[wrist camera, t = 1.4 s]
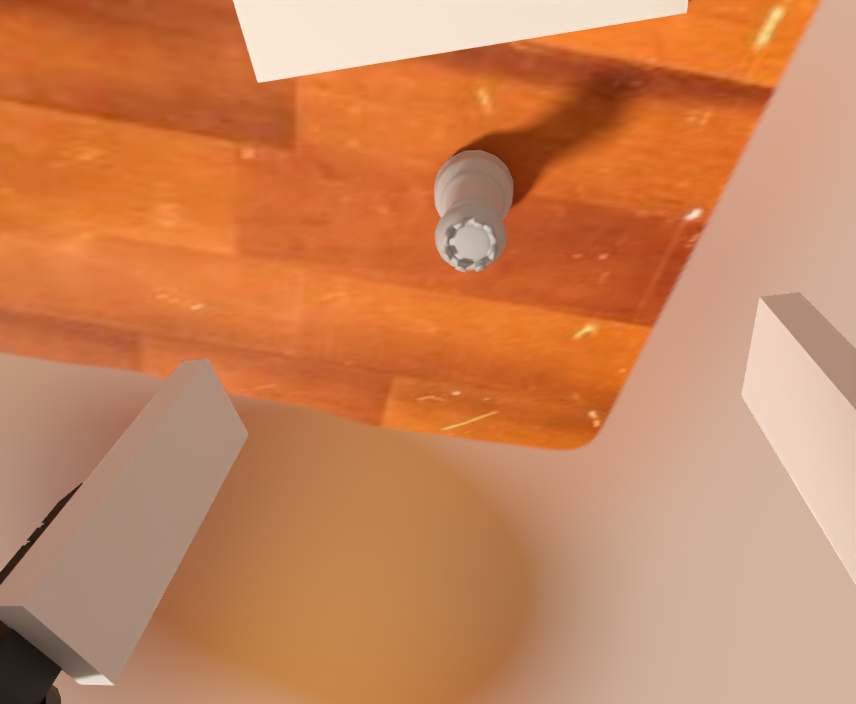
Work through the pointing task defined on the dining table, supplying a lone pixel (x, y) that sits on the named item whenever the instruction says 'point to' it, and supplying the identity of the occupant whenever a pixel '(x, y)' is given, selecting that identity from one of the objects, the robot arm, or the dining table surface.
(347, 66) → the hole board
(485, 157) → the rook chess piece
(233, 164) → the dining table surface
